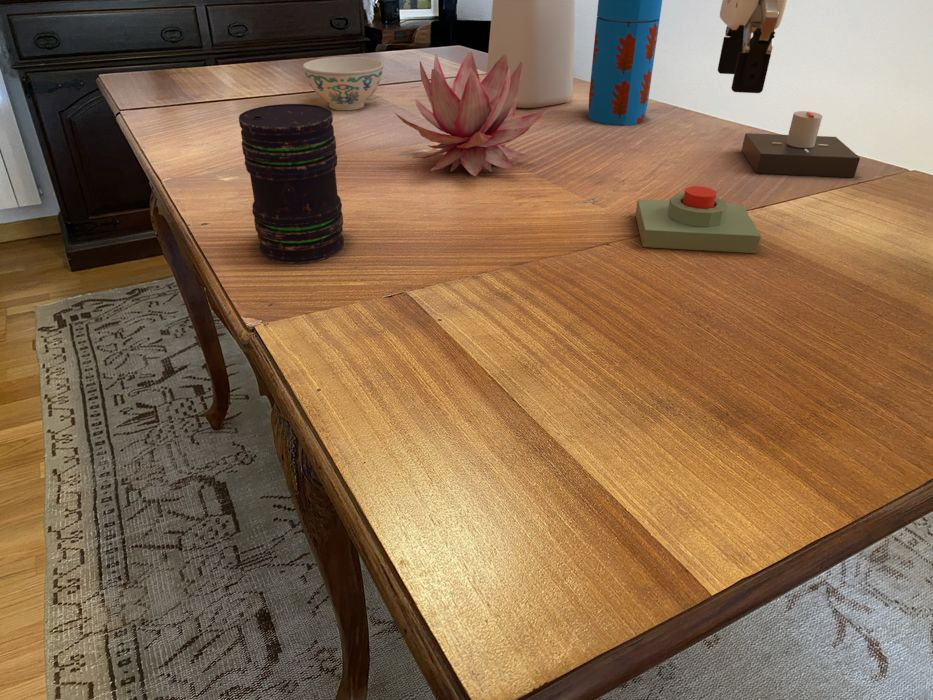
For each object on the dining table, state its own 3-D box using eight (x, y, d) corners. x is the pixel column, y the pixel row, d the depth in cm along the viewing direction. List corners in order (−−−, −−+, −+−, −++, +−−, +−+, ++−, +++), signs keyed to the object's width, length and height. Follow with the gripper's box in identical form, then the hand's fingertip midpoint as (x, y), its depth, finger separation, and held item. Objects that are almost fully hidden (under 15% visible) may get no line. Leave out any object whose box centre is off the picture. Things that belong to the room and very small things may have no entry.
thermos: (656, 117, 132) (679, -34, 119) (625, 128, 126) (645, -30, 112) (608, 107, 138) (624, -38, 125) (575, 117, 132) (589, -35, 118)
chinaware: (328, 94, 146) (324, 54, 141) (396, 100, 142) (394, 59, 138) (293, 112, 133) (288, 69, 129) (367, 118, 130) (364, 74, 126)
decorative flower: (568, 174, 104) (578, 66, 96) (442, 200, 95) (441, 83, 87) (491, 138, 120) (493, 43, 112) (376, 157, 111) (370, 54, 102)
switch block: (738, 220, 90) (745, 190, 88) (756, 253, 81) (764, 221, 79) (635, 215, 91) (639, 185, 89) (642, 247, 83) (647, 215, 81)
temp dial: (783, 140, 110) (791, 108, 107) (810, 141, 109) (818, 109, 107) (789, 147, 106) (798, 115, 104) (817, 148, 106) (826, 116, 103)
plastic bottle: (520, 112, 135) (529, -57, 120) (476, 96, 145) (479, -61, 130) (581, 102, 142) (596, -59, 127) (534, 87, 152) (543, -62, 137)
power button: (710, 200, 86) (713, 186, 85) (716, 211, 83) (719, 197, 82) (680, 199, 86) (683, 185, 85) (684, 210, 83) (687, 195, 82)
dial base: (830, 155, 113) (836, 135, 112) (854, 177, 104) (860, 156, 102) (741, 151, 115) (745, 132, 113) (756, 173, 106) (761, 152, 104)
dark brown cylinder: (336, 224, 88) (324, 100, 79) (353, 256, 80) (342, 122, 72) (254, 235, 85) (232, 107, 77) (263, 269, 77) (241, 131, 69)
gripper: (723, -96, 79) (695, 66, 88) (754, -94, 65) (715, 98, 74) (793, -94, 78) (757, 68, 88) (840, -93, 64) (790, 102, 73)
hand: (738, 82), depth 81 cm, fingers open, 9 cm apart
